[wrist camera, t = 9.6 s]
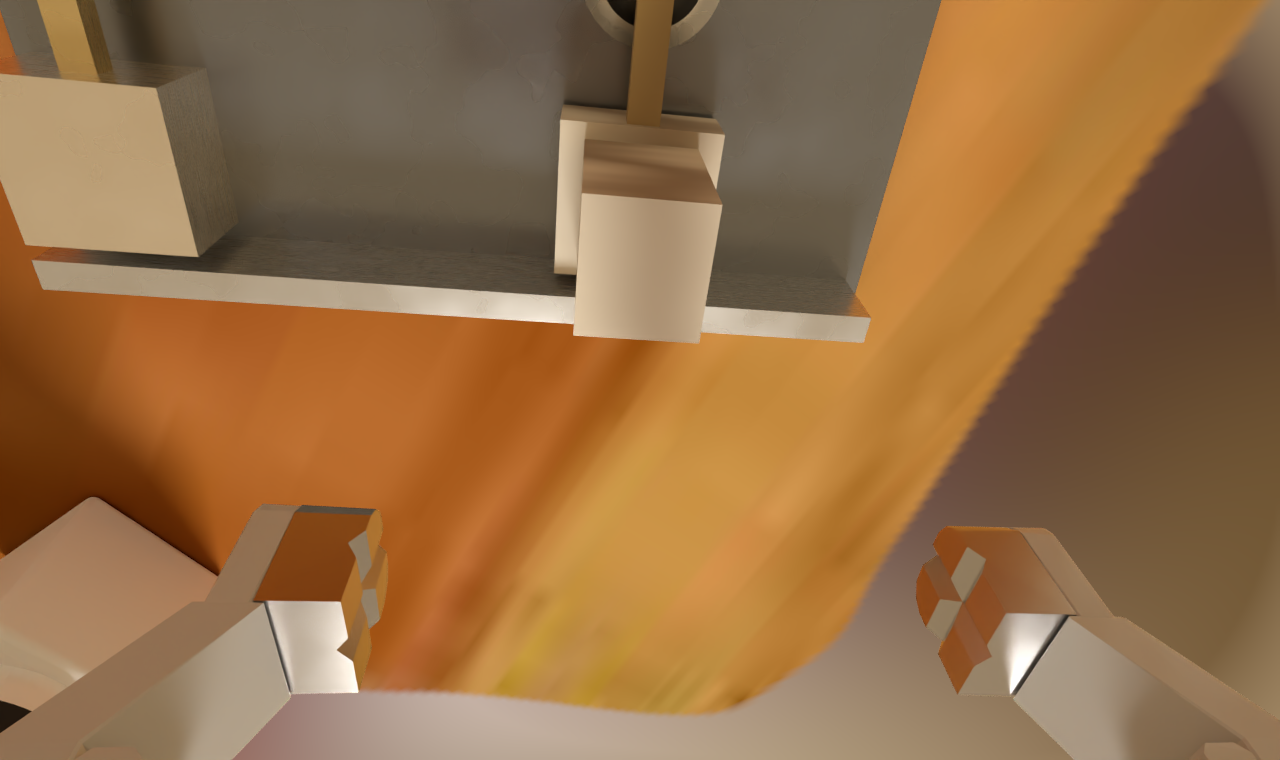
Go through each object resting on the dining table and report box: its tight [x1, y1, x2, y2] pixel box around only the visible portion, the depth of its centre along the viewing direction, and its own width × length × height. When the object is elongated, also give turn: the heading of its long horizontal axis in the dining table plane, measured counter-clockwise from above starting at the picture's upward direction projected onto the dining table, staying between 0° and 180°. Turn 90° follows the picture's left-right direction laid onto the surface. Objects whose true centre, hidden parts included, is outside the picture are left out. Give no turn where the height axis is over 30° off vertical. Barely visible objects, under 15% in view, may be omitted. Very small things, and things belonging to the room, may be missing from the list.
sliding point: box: [554, 0, 725, 343], centre depth 20 cm, size 5×10×7 cm, turn 174°
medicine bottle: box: [0, 497, 218, 733], centre depth 30 cm, size 7×7×12 cm
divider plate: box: [0, 0, 941, 343], centre depth 22 cm, size 28×14×4 cm, turn 84°
